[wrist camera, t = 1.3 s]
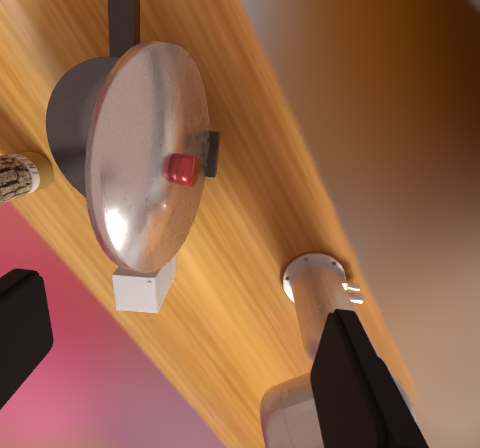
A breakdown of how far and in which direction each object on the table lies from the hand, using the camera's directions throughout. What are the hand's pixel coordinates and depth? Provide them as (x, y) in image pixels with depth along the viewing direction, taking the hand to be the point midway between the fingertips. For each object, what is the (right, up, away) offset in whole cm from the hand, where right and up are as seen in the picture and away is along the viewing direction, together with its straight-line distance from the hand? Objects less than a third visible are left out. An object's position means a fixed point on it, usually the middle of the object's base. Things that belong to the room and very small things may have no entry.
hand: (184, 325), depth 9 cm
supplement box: (-15, -3, +49) cm, 52 cm away
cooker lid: (-6, +9, +19) cm, 22 cm away
